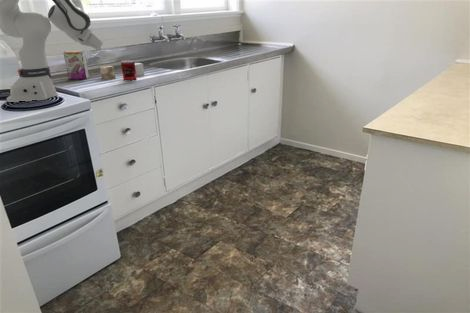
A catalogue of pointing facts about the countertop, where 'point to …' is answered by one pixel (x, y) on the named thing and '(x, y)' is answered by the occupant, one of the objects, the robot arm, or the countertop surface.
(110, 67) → the birch block
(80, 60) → the candy bar box
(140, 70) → the grey plastic block
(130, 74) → the canned food
